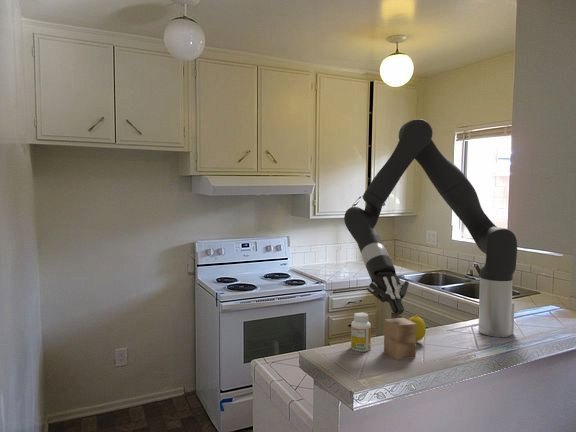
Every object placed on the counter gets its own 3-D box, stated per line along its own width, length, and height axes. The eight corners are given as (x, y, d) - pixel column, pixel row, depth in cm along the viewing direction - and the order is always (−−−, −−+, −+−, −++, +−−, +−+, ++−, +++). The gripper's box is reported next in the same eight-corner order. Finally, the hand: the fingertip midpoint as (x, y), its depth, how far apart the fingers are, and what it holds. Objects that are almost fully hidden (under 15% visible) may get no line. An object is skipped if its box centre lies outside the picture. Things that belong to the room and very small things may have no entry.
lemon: (403, 339, 128) (403, 312, 127) (421, 339, 128) (421, 312, 128) (409, 345, 122) (410, 318, 122) (428, 345, 123) (429, 317, 122)
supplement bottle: (361, 344, 123) (362, 310, 123) (374, 350, 119) (375, 315, 118) (347, 347, 121) (347, 313, 120) (359, 353, 116) (359, 318, 116)
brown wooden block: (402, 349, 119) (403, 317, 119) (415, 357, 114) (416, 323, 113) (383, 351, 117) (384, 319, 117) (396, 359, 112) (396, 325, 111)
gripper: (361, 254, 121) (383, 308, 110) (402, 253, 126) (427, 304, 114) (353, 270, 127) (373, 322, 115) (391, 268, 131) (414, 318, 120)
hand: (399, 313), depth 115 cm, fingers closed
